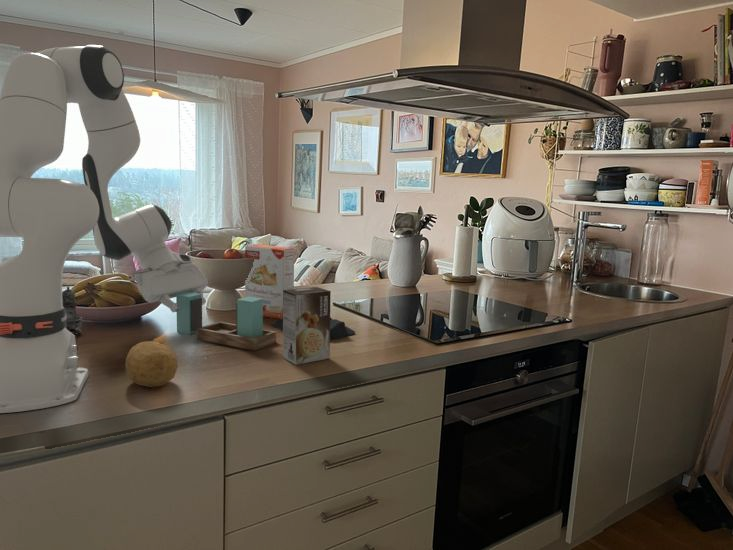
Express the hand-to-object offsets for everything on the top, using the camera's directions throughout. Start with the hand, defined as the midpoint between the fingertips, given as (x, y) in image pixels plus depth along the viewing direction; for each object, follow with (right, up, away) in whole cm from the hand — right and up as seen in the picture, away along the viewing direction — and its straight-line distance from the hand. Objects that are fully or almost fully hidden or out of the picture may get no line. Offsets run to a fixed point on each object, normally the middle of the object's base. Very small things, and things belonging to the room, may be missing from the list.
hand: (190, 307), depth 145 cm
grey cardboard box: (+32, -11, -17) cm, 38 cm away
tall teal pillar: (-1, -7, +1) cm, 7 cm away
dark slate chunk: (+31, -7, +7) cm, 33 cm away
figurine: (-29, -6, -4) cm, 30 cm away
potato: (+4, -13, -36) cm, 39 cm away
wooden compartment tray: (+13, -8, -5) cm, 17 cm away
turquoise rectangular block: (+17, -7, -7) cm, 20 cm away
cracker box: (+17, -4, +22) cm, 28 cm away
